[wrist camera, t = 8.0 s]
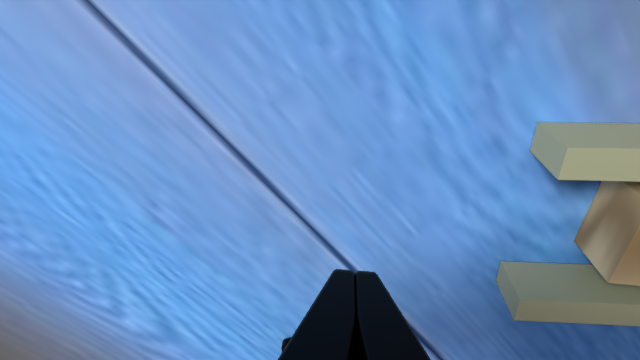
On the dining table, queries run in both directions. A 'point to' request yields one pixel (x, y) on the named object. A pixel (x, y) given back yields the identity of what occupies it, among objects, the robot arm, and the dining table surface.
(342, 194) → the dining table surface
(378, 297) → the robot arm
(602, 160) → the sage slot bracket
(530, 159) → the dining table surface
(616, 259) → the maple bracket block
